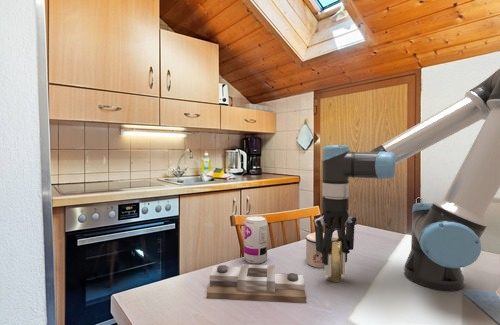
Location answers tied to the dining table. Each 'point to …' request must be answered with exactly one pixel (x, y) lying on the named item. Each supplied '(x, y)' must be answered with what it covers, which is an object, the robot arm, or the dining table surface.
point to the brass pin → (336, 260)
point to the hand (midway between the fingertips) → (334, 273)
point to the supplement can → (255, 239)
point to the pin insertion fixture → (256, 284)
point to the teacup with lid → (313, 252)
